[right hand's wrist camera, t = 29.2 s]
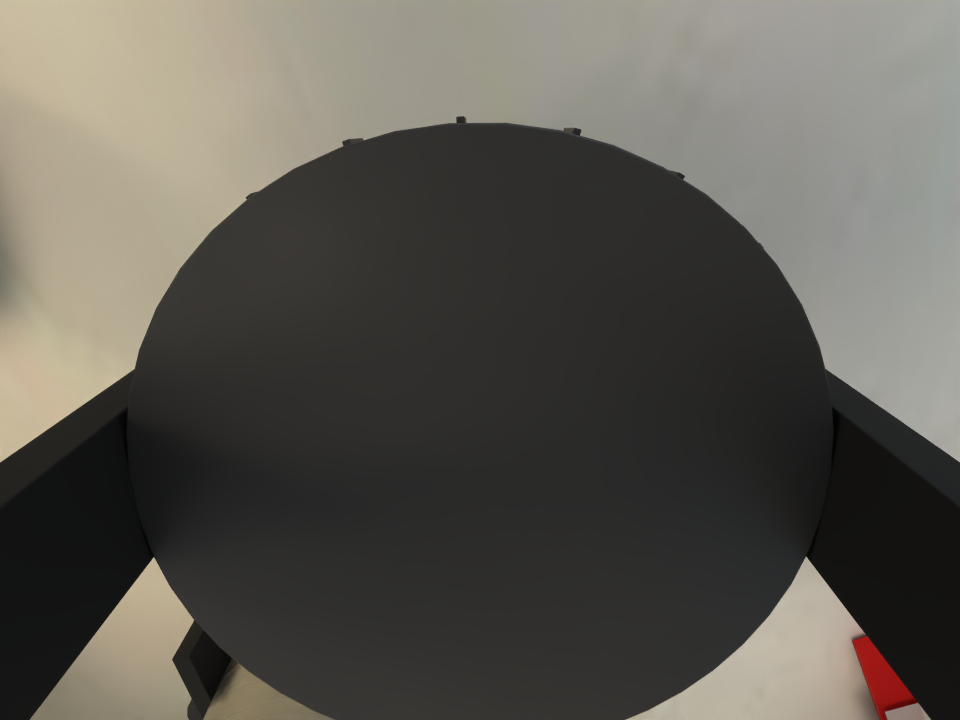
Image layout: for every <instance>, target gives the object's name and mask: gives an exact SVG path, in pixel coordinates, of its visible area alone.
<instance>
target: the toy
mask: <svg viewBox="0 0 960 720" xmlns="http://www.w3.org/2000/svg"><path fill="white" fill-rule="evenodd" d="M852 642H853V645H854V648H855V651H856V654H857V656H858V659H859V662H860V665H861V668H862V671H863V673H864V676H865V679H866V682H867V685H868V688H869V690H870V693H871V696H872V699H873V702H874V705H875V707H876V710H877V713H878V716H879V719H880V720H931V719H930V718H929V717H928V715H927V714H926V713H925V711H924V710H923V709H922V707H921V706H920V705H919V703H918V702H917V701H916V700H915V698H914V697H913V696H912V694H911V693H910V692H909V690H908V689H907V688H906V686H905V685H904V684H903V682H902V681H901V680H900V679H899V677H898V676H897V675H896V673H895V672H894V671H893V669H892V668H891V667H890V665H889V664H888V663H887V662H886V660H885V659H884V658H883V656H882V655H881V654H880V652H879V651H878V650H877V648H876V647H875V646H874V644H873V643H872V642H871V641H870V639H869V638H868V637H867V636H866V637H862V638H859V639H856V640H853V641H852Z"/></svg>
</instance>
